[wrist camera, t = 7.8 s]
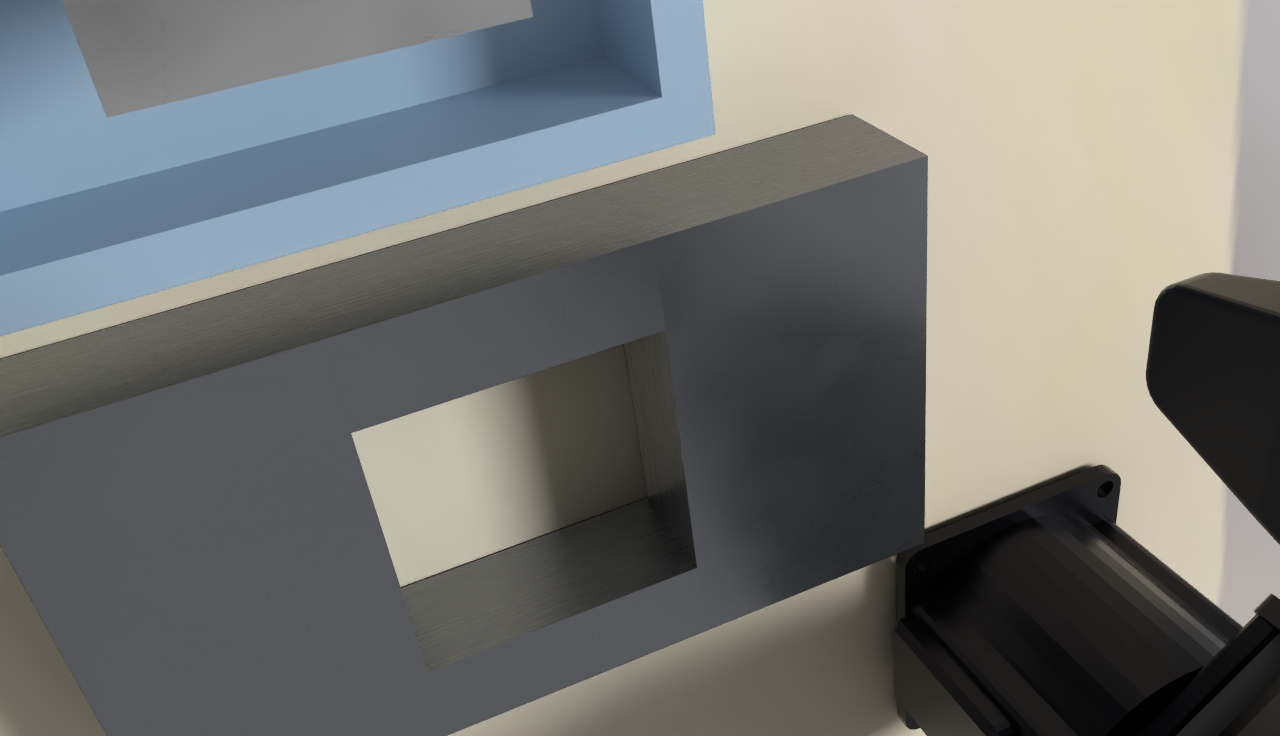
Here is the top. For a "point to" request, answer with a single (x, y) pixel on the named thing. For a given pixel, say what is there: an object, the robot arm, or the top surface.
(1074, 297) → the top surface
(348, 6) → the small speaker box
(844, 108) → the top surface
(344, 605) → the gray square hole plate
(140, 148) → the parts tray
